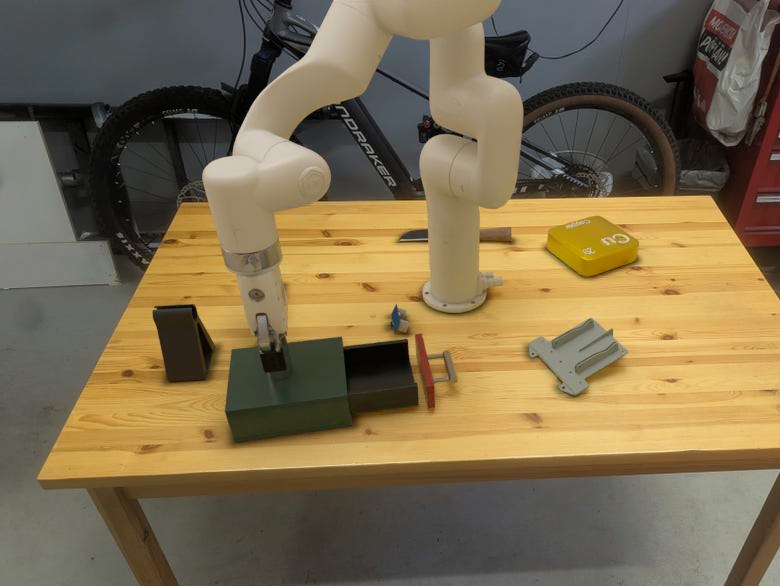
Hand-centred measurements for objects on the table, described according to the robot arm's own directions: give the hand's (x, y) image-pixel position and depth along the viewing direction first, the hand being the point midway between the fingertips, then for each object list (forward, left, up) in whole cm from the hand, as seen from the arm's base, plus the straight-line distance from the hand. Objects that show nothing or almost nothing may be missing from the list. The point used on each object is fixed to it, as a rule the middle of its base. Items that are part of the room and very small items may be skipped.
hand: (276, 352), depth 100 cm
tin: (0, 0, -4) cm, 4 cm away
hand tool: (-36, -47, -10) cm, 60 cm away
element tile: (-64, -35, -11) cm, 74 cm away
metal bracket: (-50, -1, -11) cm, 51 cm away
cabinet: (-1, 0, -11) cm, 11 cm away
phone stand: (+16, -13, -11) cm, 23 cm away
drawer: (-17, 0, -10) cm, 19 cm away
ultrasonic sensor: (-20, -17, -11) cm, 28 cm away
